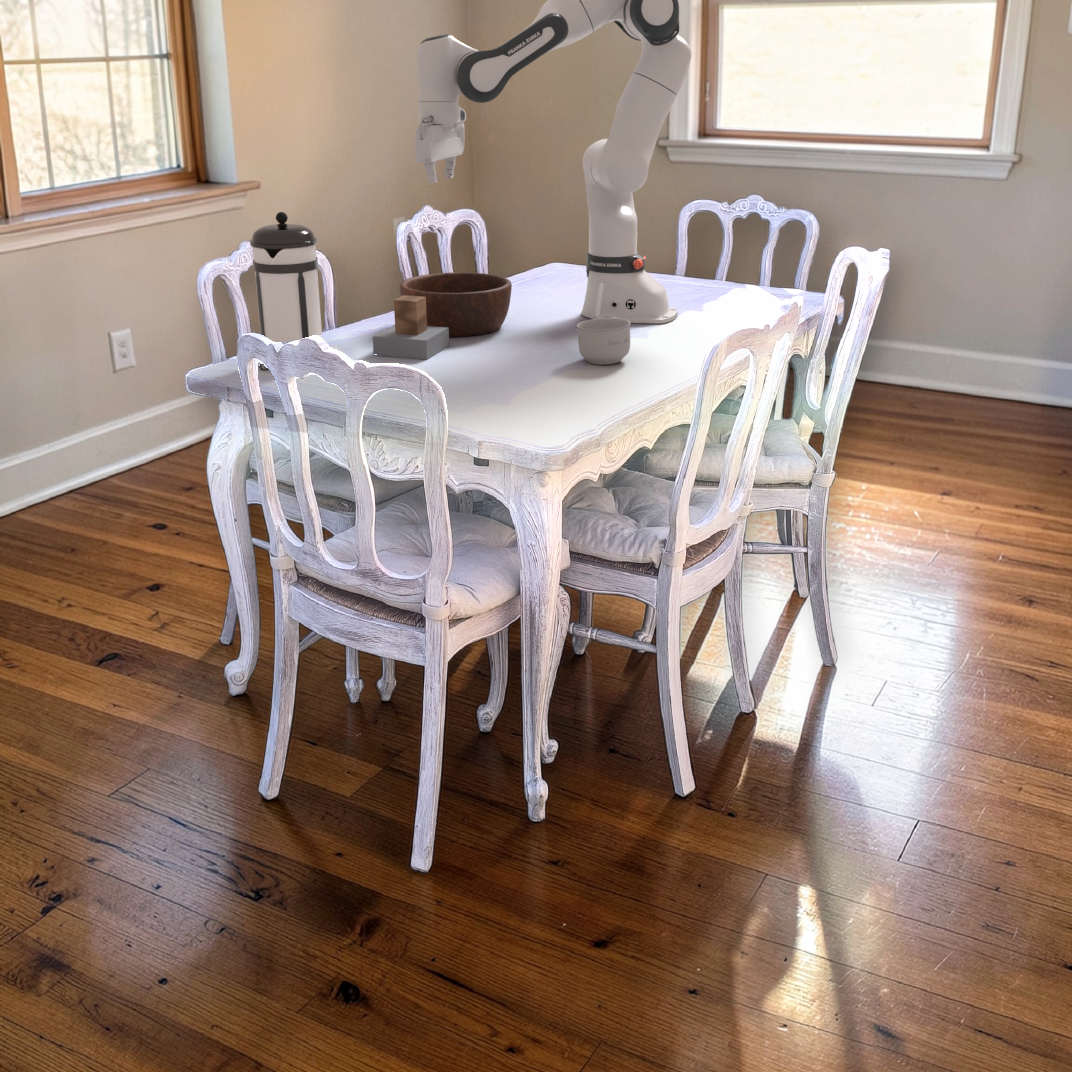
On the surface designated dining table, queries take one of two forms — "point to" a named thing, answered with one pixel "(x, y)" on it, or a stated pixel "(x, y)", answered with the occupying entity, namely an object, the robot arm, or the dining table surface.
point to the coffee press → (286, 281)
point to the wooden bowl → (462, 301)
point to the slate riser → (411, 343)
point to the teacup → (604, 340)
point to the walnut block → (410, 315)
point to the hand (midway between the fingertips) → (440, 180)
